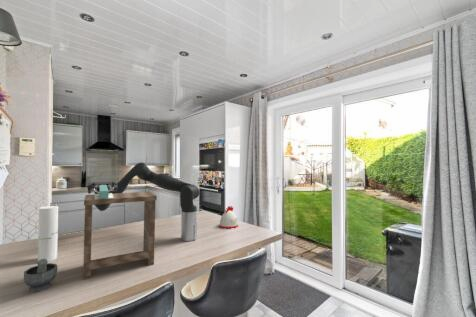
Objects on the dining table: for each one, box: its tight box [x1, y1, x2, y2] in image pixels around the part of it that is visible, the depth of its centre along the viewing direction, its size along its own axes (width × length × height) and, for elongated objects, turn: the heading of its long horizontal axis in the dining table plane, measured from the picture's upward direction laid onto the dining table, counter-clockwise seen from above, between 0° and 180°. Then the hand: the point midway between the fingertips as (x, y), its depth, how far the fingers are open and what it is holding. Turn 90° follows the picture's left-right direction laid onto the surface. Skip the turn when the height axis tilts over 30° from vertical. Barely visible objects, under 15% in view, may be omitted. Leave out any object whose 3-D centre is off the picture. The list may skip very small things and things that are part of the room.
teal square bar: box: [98, 184, 109, 198], centre depth 106 cm, size 3×26×3 cm, turn 32°
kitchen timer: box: [219, 205, 239, 230], centre depth 171 cm, size 14×14×15 cm
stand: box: [82, 191, 158, 281], centre depth 105 cm, size 28×16×32 cm, turn 122°
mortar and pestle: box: [23, 259, 58, 293], centre depth 85 cm, size 11×9×12 cm
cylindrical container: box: [37, 205, 59, 263], centre depth 110 cm, size 7×7×25 cm
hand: (103, 183), depth 122 cm, fingers open, 8 cm apart
